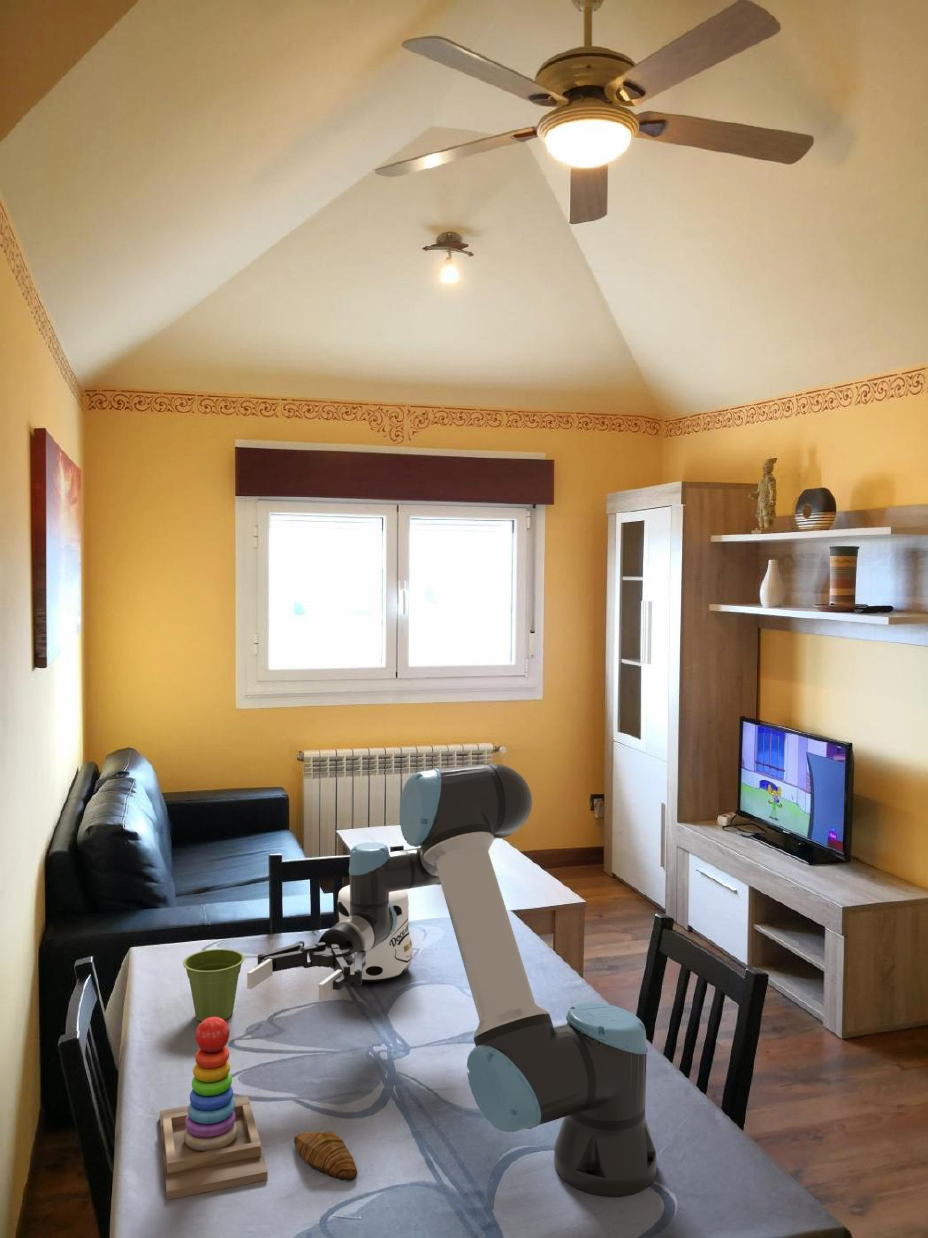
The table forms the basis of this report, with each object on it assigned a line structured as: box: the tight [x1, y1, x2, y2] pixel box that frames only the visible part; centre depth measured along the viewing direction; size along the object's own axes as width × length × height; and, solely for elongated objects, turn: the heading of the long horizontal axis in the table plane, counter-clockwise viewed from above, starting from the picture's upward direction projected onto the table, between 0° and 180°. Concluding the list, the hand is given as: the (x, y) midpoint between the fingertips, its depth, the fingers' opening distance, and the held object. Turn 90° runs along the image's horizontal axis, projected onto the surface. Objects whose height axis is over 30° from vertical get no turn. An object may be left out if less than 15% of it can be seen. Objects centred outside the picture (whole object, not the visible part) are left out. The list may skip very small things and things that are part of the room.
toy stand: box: [159, 1095, 269, 1201], centre depth 152 cm, size 22×14×3 cm, turn 20°
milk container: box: [336, 884, 414, 983], centre depth 217 cm, size 17×17×18 cm
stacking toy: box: [184, 1017, 238, 1151], centre depth 151 cm, size 8×8×19 cm
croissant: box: [293, 1130, 358, 1182], centre depth 148 cm, size 14×7×5 cm, turn 47°
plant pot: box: [182, 948, 245, 1022], centre depth 196 cm, size 12×12×11 cm
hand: (284, 986), depth 163 cm, fingers open, 13 cm apart
